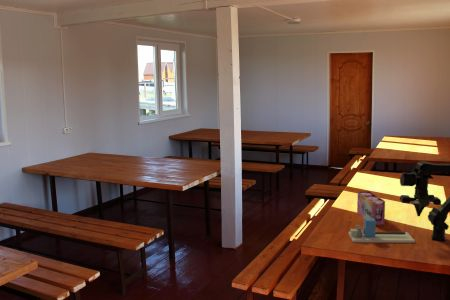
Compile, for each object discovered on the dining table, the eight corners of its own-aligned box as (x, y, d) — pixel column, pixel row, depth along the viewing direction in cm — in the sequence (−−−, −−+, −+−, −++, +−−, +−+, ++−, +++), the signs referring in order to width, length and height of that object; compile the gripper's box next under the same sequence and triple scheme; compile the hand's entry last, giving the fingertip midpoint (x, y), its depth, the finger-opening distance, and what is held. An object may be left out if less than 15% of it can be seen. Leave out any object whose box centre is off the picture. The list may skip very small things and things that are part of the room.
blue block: (373, 233, 243) (373, 218, 241) (375, 236, 239) (375, 220, 237) (363, 233, 243) (363, 218, 242) (365, 236, 239) (365, 220, 237)
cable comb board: (406, 234, 246) (407, 223, 245) (414, 242, 234) (415, 230, 233) (348, 233, 248) (348, 222, 246) (353, 242, 236) (353, 230, 235)
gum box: (385, 225, 260) (387, 202, 258) (372, 226, 259) (373, 202, 257) (369, 212, 284) (369, 191, 281) (356, 213, 283) (357, 191, 281)
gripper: (406, 189, 228) (403, 220, 230) (446, 191, 226) (442, 222, 228) (400, 184, 238) (398, 213, 241) (438, 186, 236) (435, 215, 239)
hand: (418, 216), depth 237 cm, fingers closed
